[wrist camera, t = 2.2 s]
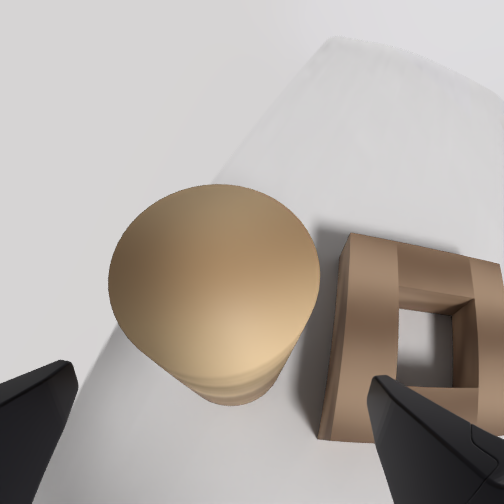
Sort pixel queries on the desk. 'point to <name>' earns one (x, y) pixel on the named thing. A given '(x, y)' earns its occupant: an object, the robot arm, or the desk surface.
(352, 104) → the desk surface
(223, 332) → the tan tall cylinder
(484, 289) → the walnut square frame
